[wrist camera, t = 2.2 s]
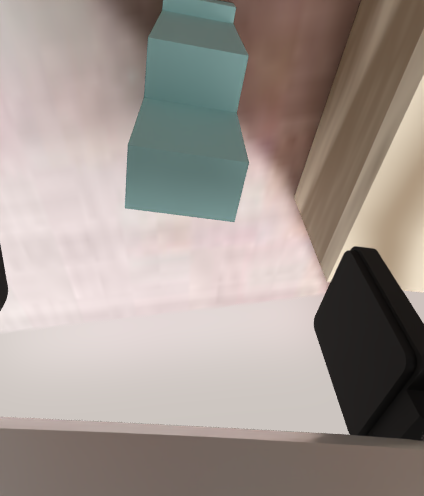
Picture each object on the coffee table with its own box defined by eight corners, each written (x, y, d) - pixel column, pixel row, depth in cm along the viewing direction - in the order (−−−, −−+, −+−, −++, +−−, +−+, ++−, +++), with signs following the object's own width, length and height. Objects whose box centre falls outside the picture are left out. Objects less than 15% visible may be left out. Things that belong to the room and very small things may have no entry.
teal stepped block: (233, 3, 23) (273, 64, 11) (209, 140, 29) (219, 283, 16) (165, -11, 23) (132, 38, 11) (153, 132, 28) (121, 273, 16)
